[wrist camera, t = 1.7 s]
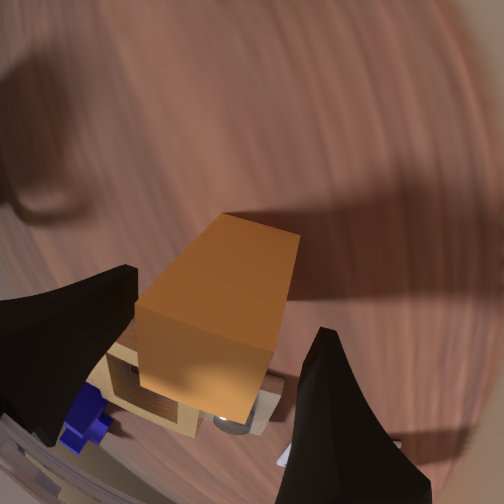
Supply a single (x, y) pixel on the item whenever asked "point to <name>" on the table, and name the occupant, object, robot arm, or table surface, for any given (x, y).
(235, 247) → the orange rectangular peg
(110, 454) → the table surface
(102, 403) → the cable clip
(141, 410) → the square frame connector
